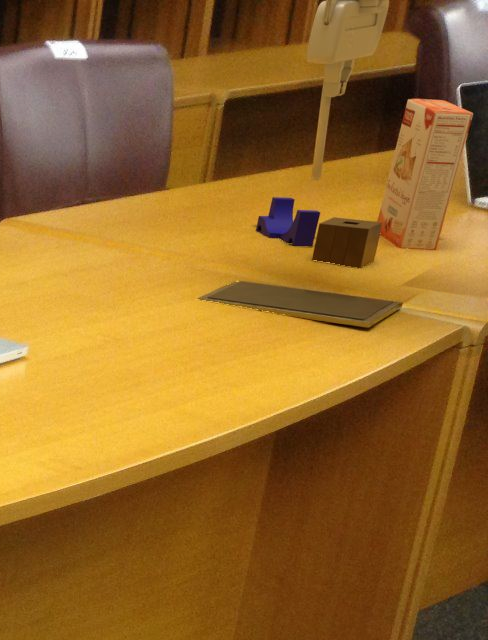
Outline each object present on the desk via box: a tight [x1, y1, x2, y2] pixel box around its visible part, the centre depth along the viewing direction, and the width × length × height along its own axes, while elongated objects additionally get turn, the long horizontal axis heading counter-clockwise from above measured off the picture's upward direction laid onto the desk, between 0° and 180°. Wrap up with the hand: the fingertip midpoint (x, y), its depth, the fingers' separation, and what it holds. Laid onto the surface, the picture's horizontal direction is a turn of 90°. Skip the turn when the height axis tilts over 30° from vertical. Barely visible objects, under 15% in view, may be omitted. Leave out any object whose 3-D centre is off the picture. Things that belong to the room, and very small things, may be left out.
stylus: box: [310, 80, 332, 182], centre depth 209 cm, size 1×1×14 cm
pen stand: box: [311, 216, 382, 269], centre depth 229 cm, size 7×7×6 cm
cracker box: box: [376, 98, 474, 251], centre depth 240 cm, size 14×6×21 cm, turn 170°
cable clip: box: [255, 196, 321, 247], centre depth 243 cm, size 12×4×6 cm, turn 178°
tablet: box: [197, 280, 403, 329], centre depth 205 cm, size 22×15×1 cm
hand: (333, 96), depth 207 cm, fingers closed on stylus, 1 cm apart
